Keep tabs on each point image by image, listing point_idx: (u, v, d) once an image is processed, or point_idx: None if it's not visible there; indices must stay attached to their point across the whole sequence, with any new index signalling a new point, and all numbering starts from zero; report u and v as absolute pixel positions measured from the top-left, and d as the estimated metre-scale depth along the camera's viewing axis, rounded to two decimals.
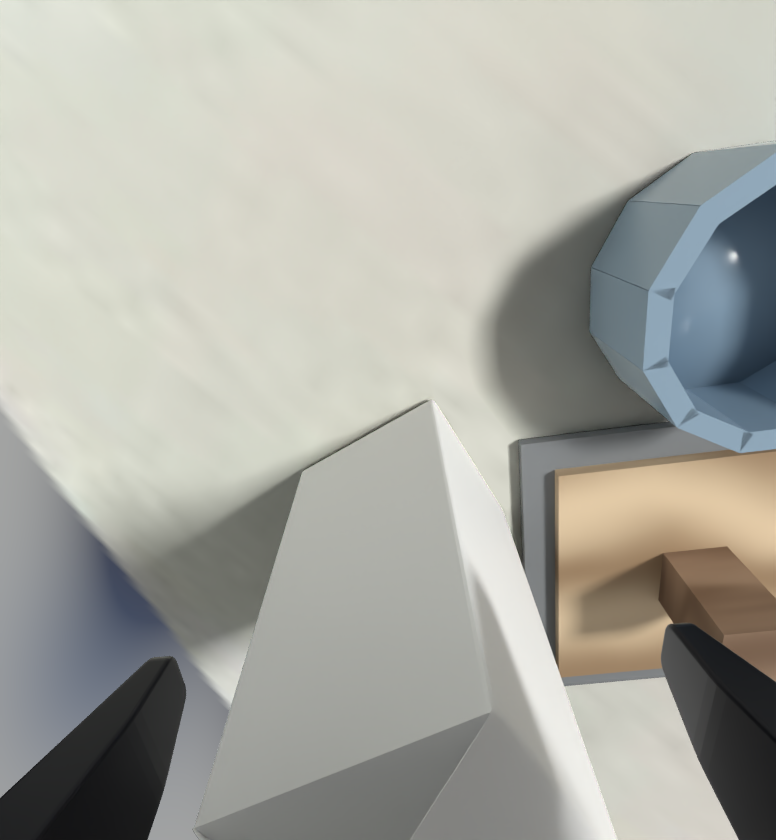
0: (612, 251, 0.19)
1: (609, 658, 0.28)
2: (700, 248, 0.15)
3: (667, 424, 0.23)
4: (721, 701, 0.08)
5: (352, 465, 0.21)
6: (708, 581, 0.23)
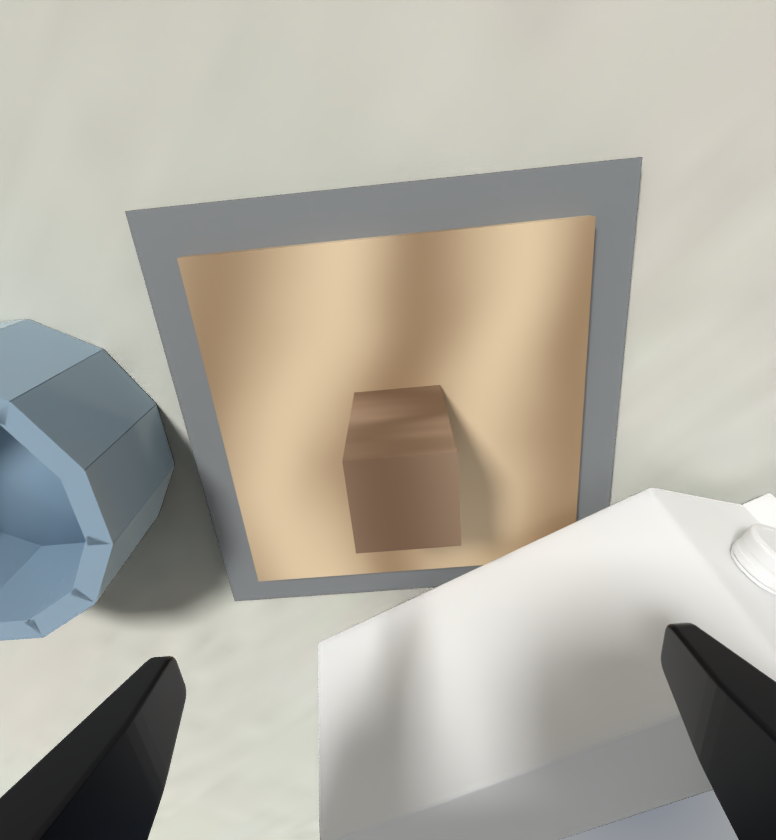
0: None
1: (548, 504, 0.20)
2: None
3: (200, 468, 0.20)
4: (721, 701, 0.08)
5: None
6: None
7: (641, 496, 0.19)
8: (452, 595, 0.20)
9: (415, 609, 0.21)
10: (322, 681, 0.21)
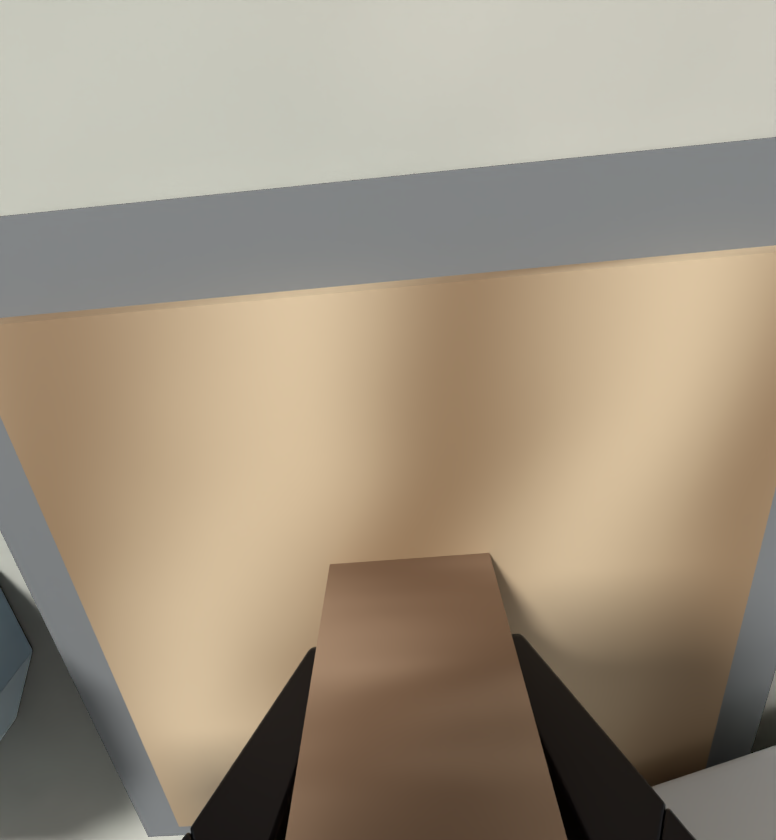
0: None
1: (665, 729, 0.12)
2: None
3: (74, 659, 0.12)
4: None
5: None
6: None
7: None
8: None
9: None
10: None
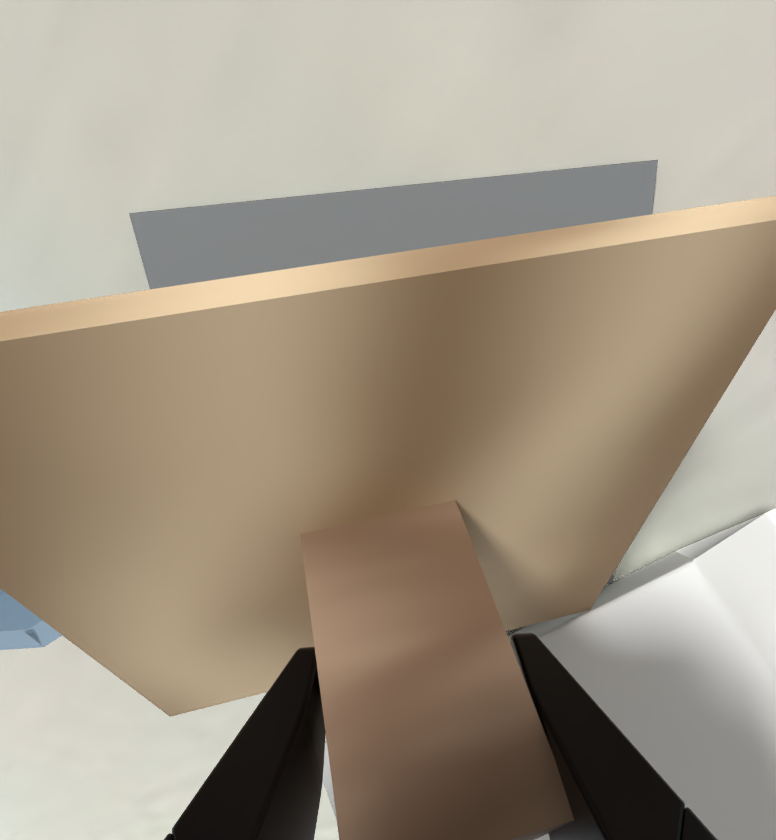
0: None
1: (577, 579, 0.14)
2: None
3: None
4: None
5: None
6: None
7: (686, 574, 0.15)
8: None
9: None
10: None
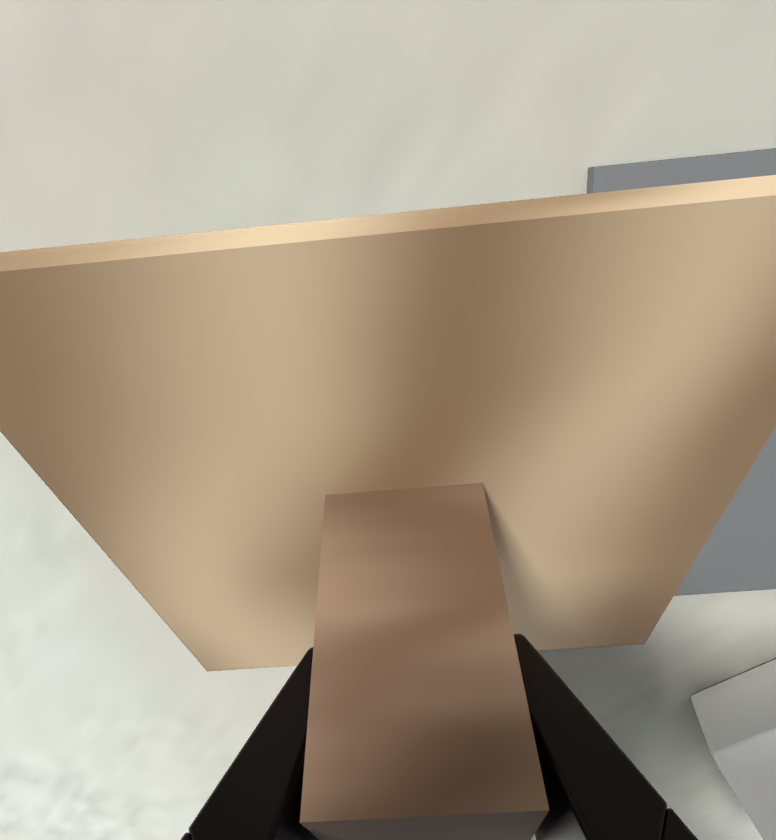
0: None
1: (626, 602, 0.13)
2: None
3: None
4: None
5: None
6: None
7: None
8: None
9: None
10: (754, 811, 0.17)
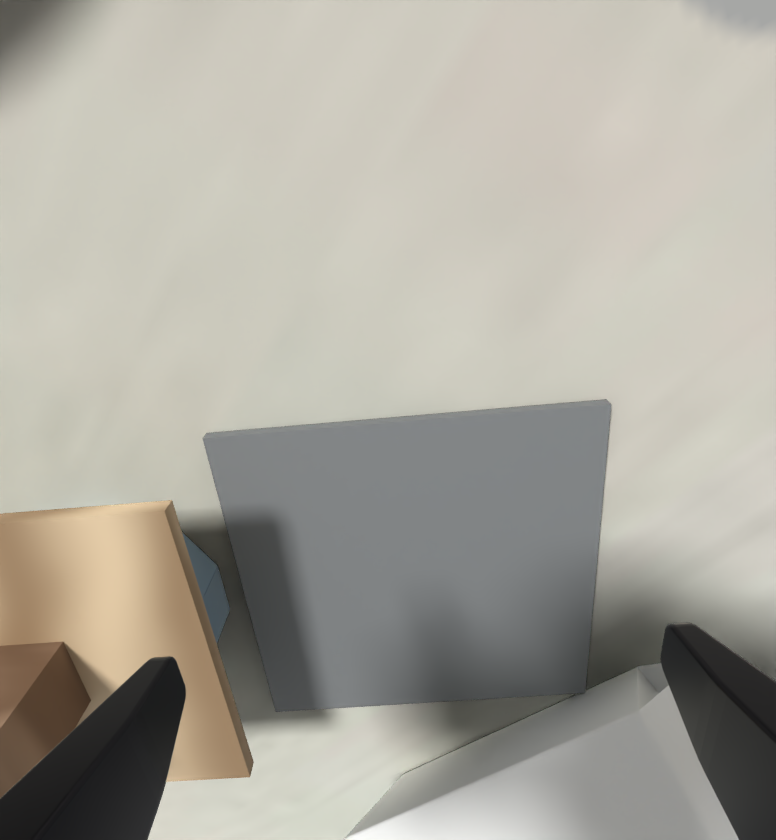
0: None
1: (207, 734, 0.20)
2: None
3: (252, 613, 0.25)
4: (721, 701, 0.08)
5: None
6: None
7: (633, 721, 0.20)
8: (466, 809, 0.22)
9: (432, 819, 0.22)
10: None
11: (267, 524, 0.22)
